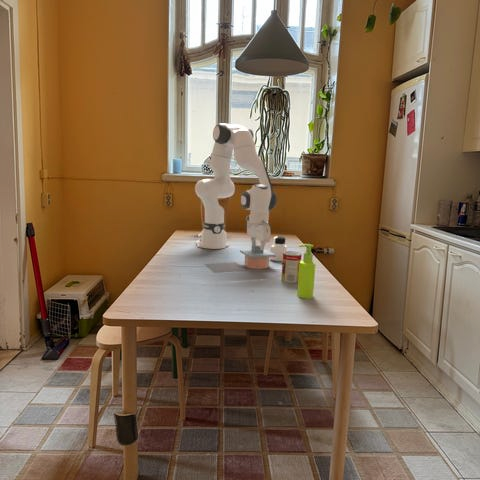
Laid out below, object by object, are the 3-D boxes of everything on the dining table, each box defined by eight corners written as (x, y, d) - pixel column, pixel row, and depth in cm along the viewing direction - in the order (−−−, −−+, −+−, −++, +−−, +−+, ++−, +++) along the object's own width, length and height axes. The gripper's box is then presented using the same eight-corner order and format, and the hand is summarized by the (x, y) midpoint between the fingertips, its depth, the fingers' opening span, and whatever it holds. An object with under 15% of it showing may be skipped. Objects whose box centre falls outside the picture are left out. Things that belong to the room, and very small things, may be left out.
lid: (239, 251, 198) (240, 243, 197) (264, 250, 203) (264, 242, 202) (249, 257, 186) (250, 249, 185) (275, 256, 191) (275, 248, 190)
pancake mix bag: (228, 236, 272) (230, 194, 266) (199, 235, 270) (200, 193, 265) (227, 234, 278) (229, 193, 273) (199, 233, 277) (201, 192, 271)
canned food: (297, 278, 179) (299, 251, 176) (301, 283, 171) (303, 255, 169) (280, 277, 178) (281, 250, 176) (282, 282, 171) (284, 254, 168)
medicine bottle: (286, 258, 214) (287, 236, 212) (283, 261, 207) (284, 238, 205) (273, 257, 216) (274, 235, 214) (269, 260, 210) (271, 237, 207)
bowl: (241, 264, 199) (242, 252, 198) (262, 263, 203) (263, 251, 201) (250, 269, 189) (251, 257, 187) (271, 268, 193) (272, 256, 191)
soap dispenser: (293, 293, 157) (296, 242, 153) (310, 293, 158) (314, 243, 154) (296, 298, 151) (300, 245, 148) (314, 298, 152) (318, 246, 148)
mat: (204, 264, 194) (204, 263, 194) (235, 263, 200) (235, 262, 200) (214, 273, 180) (214, 272, 180) (247, 271, 185) (247, 270, 185)
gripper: (274, 222, 183) (273, 252, 186) (256, 216, 202) (255, 243, 204) (262, 222, 181) (260, 252, 183) (245, 216, 199) (243, 243, 202)
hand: (257, 247), depth 194 cm, fingers open, 8 cm apart
